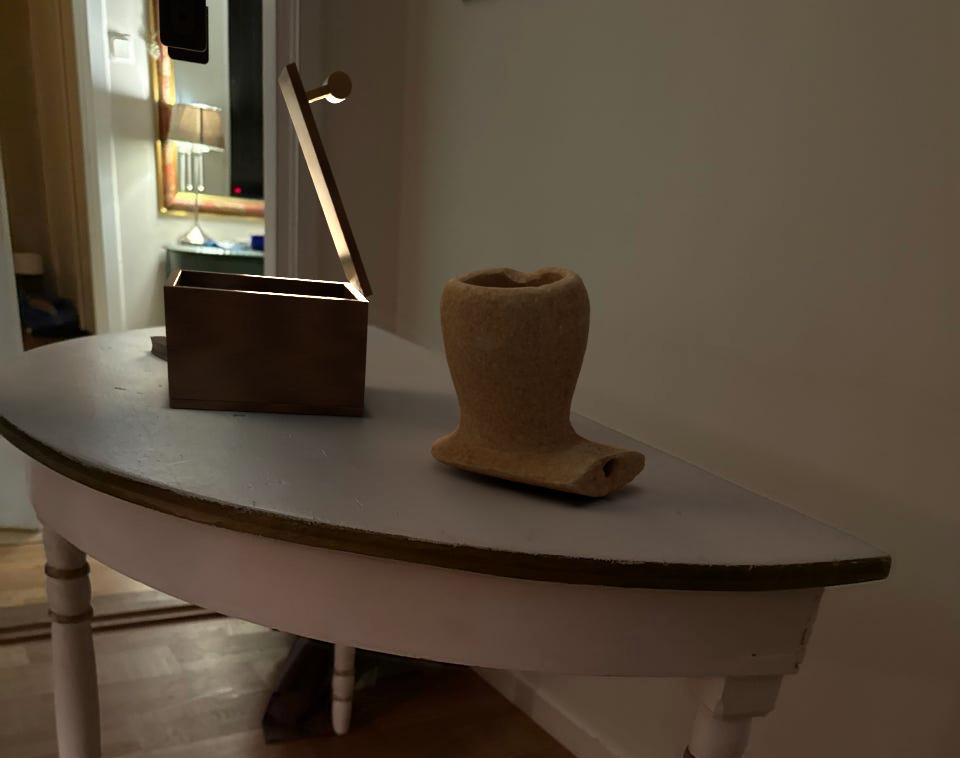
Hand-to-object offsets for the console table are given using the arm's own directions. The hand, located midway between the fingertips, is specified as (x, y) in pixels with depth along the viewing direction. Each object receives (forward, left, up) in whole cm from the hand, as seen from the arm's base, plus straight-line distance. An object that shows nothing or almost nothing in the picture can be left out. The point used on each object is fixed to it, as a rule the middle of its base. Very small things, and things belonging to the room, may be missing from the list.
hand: (186, 55), depth 70 cm
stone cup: (+24, -22, -26) cm, 42 cm away
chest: (+6, +3, -26) cm, 27 cm away
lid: (+11, +3, -8) cm, 14 cm away
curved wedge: (0, +18, -26) cm, 32 cm away
